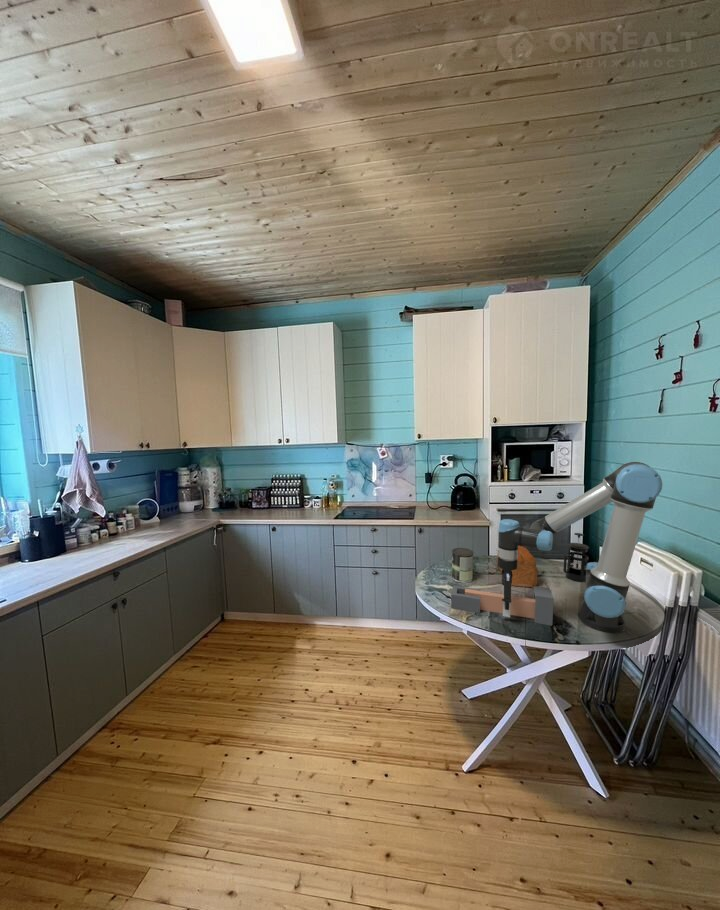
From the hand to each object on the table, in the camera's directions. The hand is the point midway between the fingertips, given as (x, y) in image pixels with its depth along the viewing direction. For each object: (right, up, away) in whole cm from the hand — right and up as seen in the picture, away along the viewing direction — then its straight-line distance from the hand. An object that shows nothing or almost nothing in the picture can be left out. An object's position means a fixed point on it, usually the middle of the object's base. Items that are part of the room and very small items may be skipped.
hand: (505, 608), depth 145 cm
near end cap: (+13, -2, -4) cm, 14 cm away
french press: (+49, +1, +32) cm, 59 cm away
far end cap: (-15, -1, +5) cm, 16 cm away
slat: (-2, -2, +1) cm, 3 cm away
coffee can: (-9, +1, +32) cm, 33 cm away
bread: (+20, +1, +36) cm, 41 cm away
